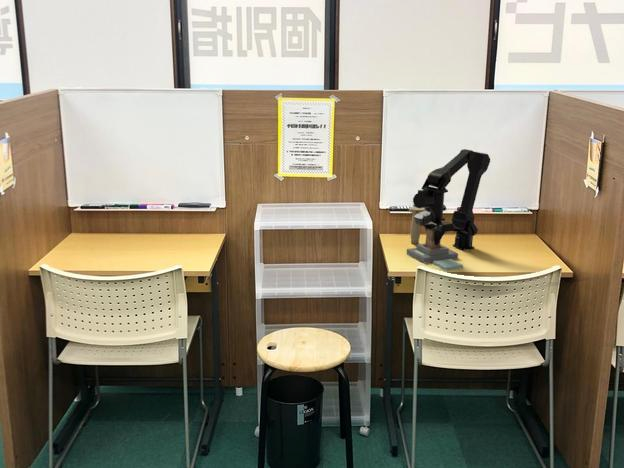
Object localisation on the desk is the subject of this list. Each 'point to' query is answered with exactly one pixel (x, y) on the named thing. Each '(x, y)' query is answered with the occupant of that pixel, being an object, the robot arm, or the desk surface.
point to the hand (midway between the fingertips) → (433, 243)
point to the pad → (448, 264)
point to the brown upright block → (431, 239)
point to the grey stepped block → (431, 253)
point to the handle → (415, 225)
